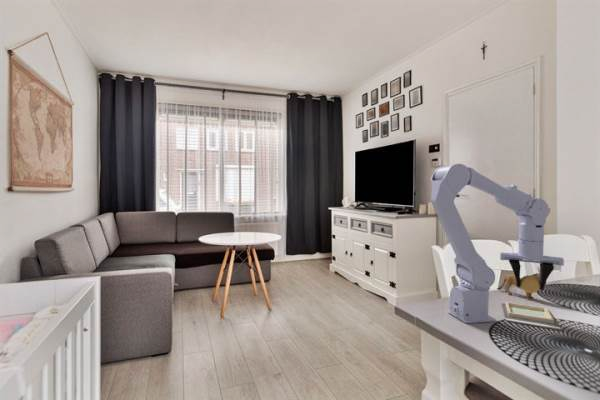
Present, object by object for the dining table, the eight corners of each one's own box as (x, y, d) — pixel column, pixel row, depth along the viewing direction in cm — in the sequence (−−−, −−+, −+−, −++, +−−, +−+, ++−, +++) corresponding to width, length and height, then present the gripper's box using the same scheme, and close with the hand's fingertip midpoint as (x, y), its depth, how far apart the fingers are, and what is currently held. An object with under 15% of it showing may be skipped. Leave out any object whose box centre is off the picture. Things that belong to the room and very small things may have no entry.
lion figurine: (548, 300, 104) (549, 273, 104) (542, 303, 101) (543, 276, 101) (499, 289, 116) (500, 265, 116) (493, 291, 113) (493, 267, 113)
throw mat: (561, 331, 81) (561, 326, 81) (506, 321, 87) (506, 316, 87) (548, 311, 95) (549, 306, 95) (501, 304, 101) (501, 300, 101)
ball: (529, 295, 88) (530, 278, 88) (515, 290, 92) (515, 273, 92) (544, 294, 88) (545, 277, 88) (529, 289, 93) (529, 273, 93)
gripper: (560, 240, 90) (558, 287, 90) (500, 236, 97) (499, 280, 97) (566, 243, 84) (564, 294, 84) (501, 239, 91) (500, 286, 91)
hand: (529, 287), depth 90 cm, fingers closed on ball, 5 cm apart
